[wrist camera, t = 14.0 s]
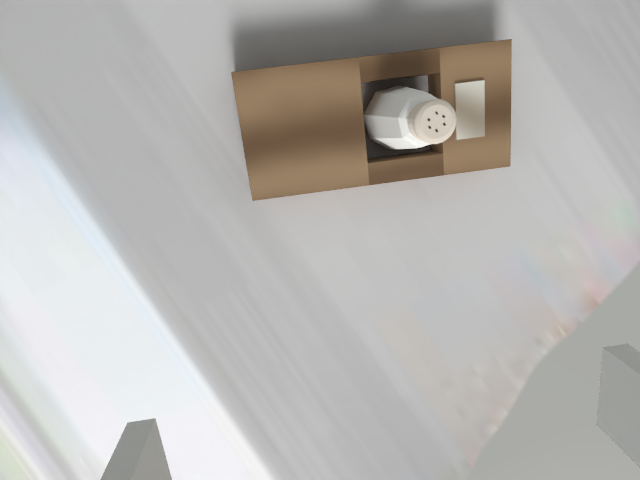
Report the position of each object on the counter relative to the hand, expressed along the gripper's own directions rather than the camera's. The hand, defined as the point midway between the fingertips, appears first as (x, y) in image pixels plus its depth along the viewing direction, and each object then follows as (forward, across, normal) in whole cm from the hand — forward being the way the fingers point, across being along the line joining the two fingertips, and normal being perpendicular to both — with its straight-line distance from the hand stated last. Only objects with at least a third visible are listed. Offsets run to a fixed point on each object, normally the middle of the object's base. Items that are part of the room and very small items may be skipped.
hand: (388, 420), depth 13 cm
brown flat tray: (+29, +6, +7) cm, 30 cm away
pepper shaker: (+29, +8, +7) cm, 31 cm away
